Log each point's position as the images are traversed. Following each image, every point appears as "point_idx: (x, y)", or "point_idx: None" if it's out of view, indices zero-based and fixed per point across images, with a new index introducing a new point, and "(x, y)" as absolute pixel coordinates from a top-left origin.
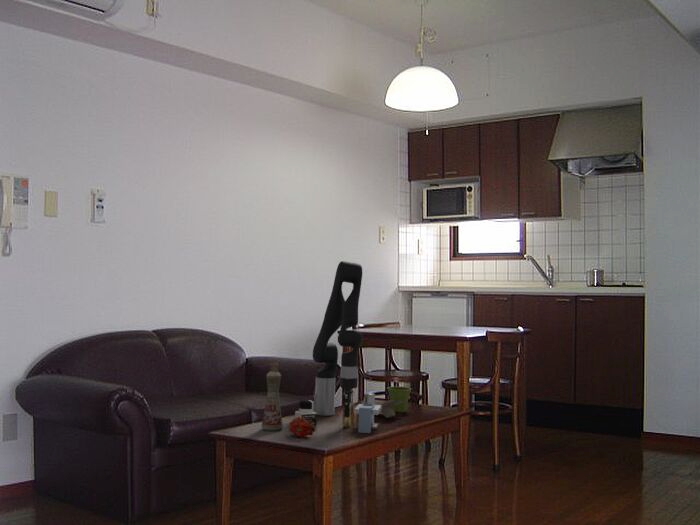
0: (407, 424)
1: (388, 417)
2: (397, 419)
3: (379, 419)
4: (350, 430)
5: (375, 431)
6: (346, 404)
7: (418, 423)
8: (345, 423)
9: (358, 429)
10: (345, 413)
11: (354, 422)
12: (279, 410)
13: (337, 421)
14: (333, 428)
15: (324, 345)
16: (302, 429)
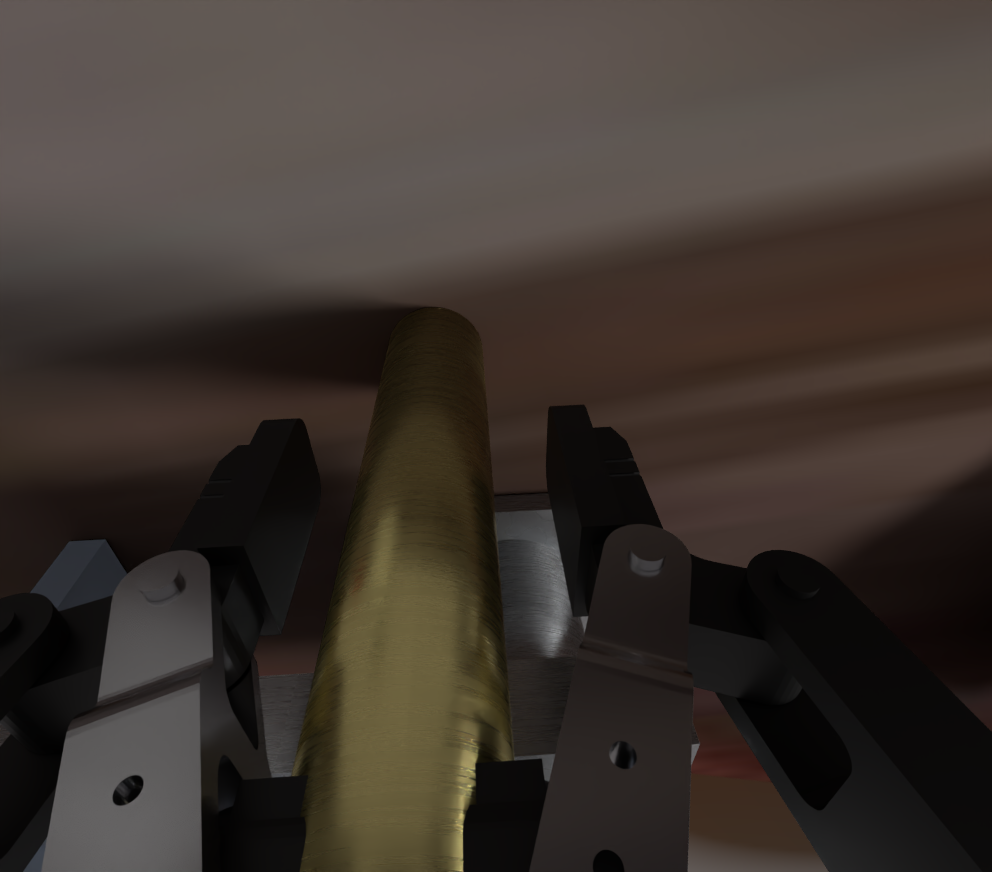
0: (699, 746)
1: None
2: (949, 678)
3: (977, 576)
4: (133, 444)
5: (258, 645)
6: (322, 645)
7: (750, 778)
8: (391, 348)
9: (49, 569)
10: (209, 490)
11: (777, 382)
12: None
13: (883, 79)
14: (102, 163)
15: None
16: None
